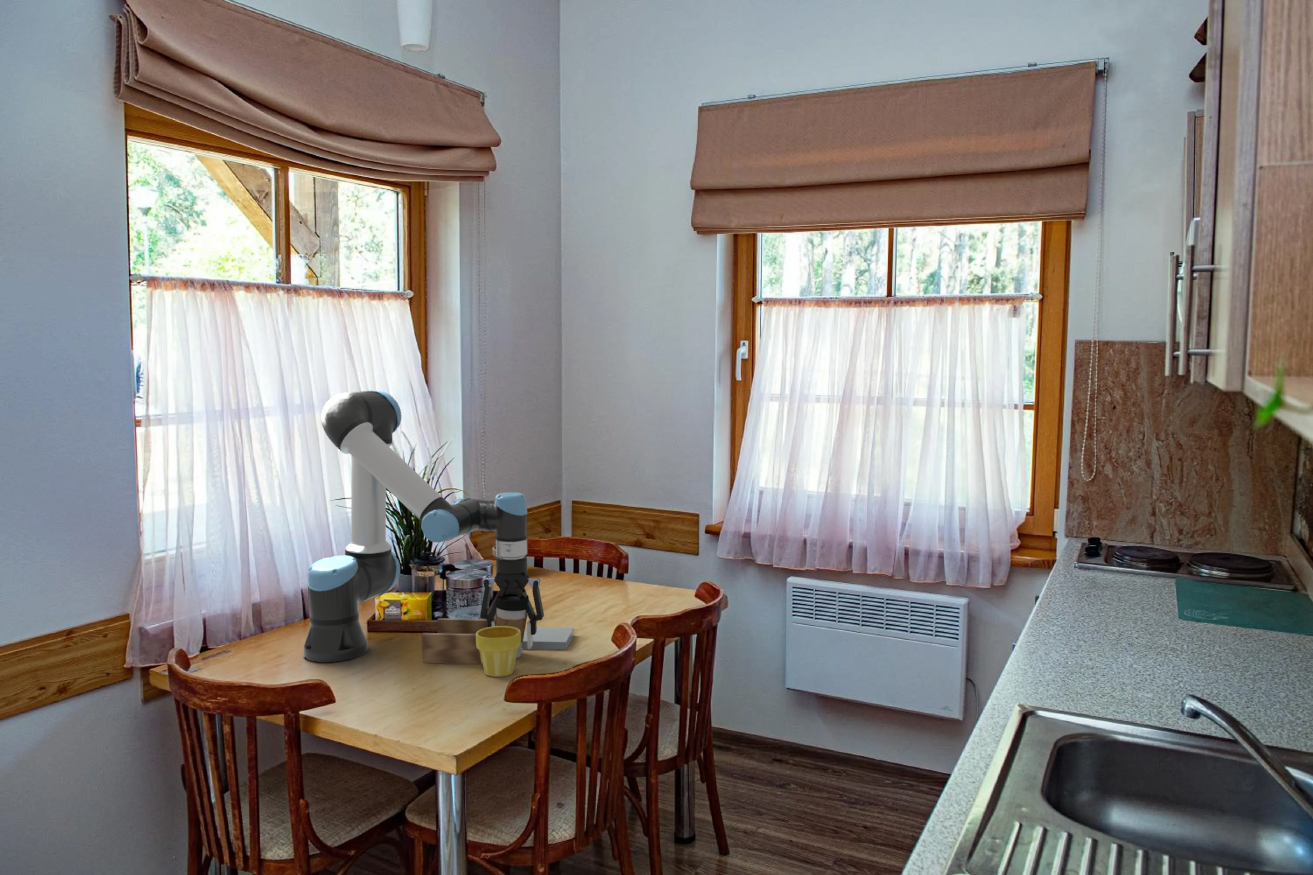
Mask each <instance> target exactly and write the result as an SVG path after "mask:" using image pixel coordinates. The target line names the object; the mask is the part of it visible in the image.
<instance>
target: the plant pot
mask: <svg viewBox="0 0 1313 875" xmlns="http://www.w3.org/2000/svg"><path fill="white" fill-rule="evenodd" d="M520 645H521V631H520V630H519V629H518V628H515V627H510V626H493V627H487V628H483V629H481V630H479V631H477V632H476V647H477V649H479V651H480V655H481V664H482V666H483V667H482V668H483V671H484V674H485V675H486V676H488V677H493V678H502V677H503V678H504V677H506V676H507V677H508V676H509V675H512V674H513V673H514V669H515V664H516V659H517V658H516V655H517V650H518V647H519V646H520Z"/></svg>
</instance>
